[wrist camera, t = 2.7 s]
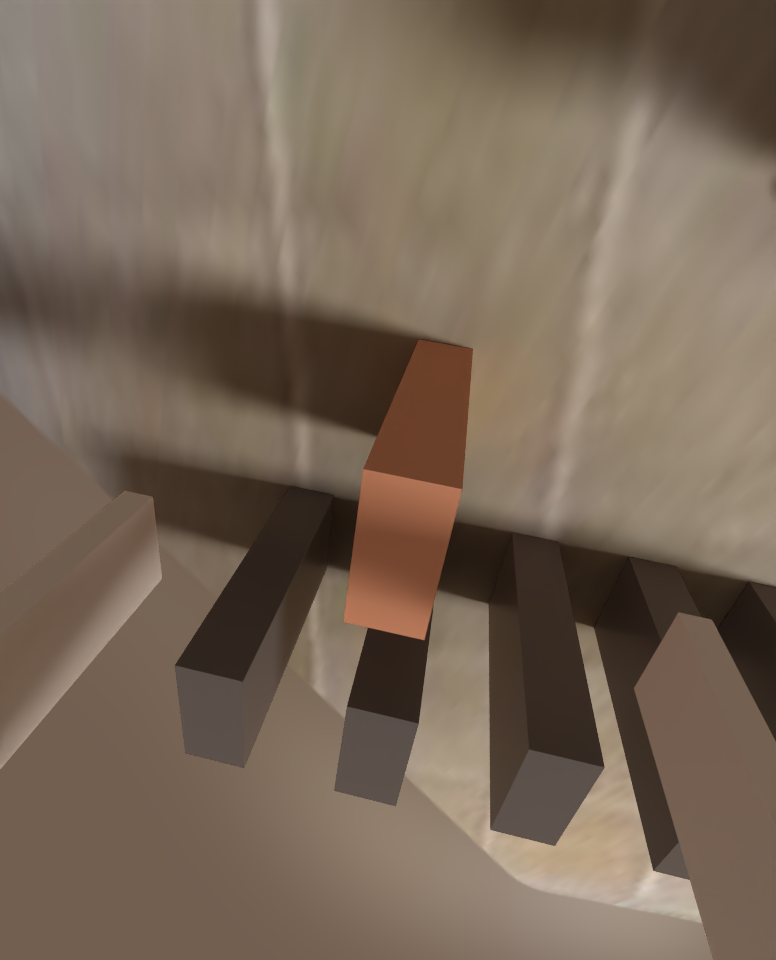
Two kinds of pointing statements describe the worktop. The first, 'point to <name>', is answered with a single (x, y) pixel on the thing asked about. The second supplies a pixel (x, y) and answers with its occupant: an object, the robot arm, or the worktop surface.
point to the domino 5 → (625, 655)
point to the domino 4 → (537, 698)
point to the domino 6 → (755, 645)
